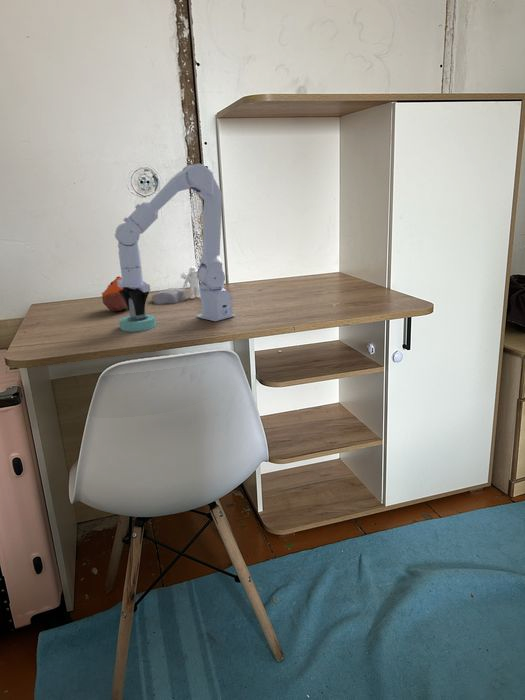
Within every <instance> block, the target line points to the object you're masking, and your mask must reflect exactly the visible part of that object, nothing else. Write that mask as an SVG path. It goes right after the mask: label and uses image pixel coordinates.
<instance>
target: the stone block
mask: <svg viewBox="0 0 525 700" xmlns="http://www.w3.org/2000/svg"><path fill="white" fill-rule="evenodd" d="M186 292H187V291H186V288H185V289H184V288H183V287H182V288H181V287H180V288H179V287H178V288H177V287H171V288H167V289H162V290H160V291H158V292H156V293H155V294H153V295H152V296H151V299H152V300H151V301H152V302H153V304H156V305H157V304H158V305H160V304H162V305H163V304H178V303H179V302H180V301H181V300H183V299H185V298H186V295H187V293H186Z"/></svg>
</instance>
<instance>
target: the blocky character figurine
mask: <svg viewBox="0 0 525 700" xmlns="http://www.w3.org/2000/svg"><path fill="white" fill-rule="evenodd" d="M198 267H200V262H199V263H196V264H195V265H193V266H192V265H191V266H190V267H189V269H188V273H187V271H183V272H181V273H180V279H183V280H184V283H183V286H182V289H183V288H184V289H185V290H186V287H188V284H190V285H189V292H190V293H189V296H190V297H189V299H195V298H197V299H199V298H200V284H199V283H200V281H199V279H198V277H197V271H198V269H199V268H198ZM195 291H196V293H195ZM195 294H196V296H195ZM200 299H201V298H200Z"/></svg>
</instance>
